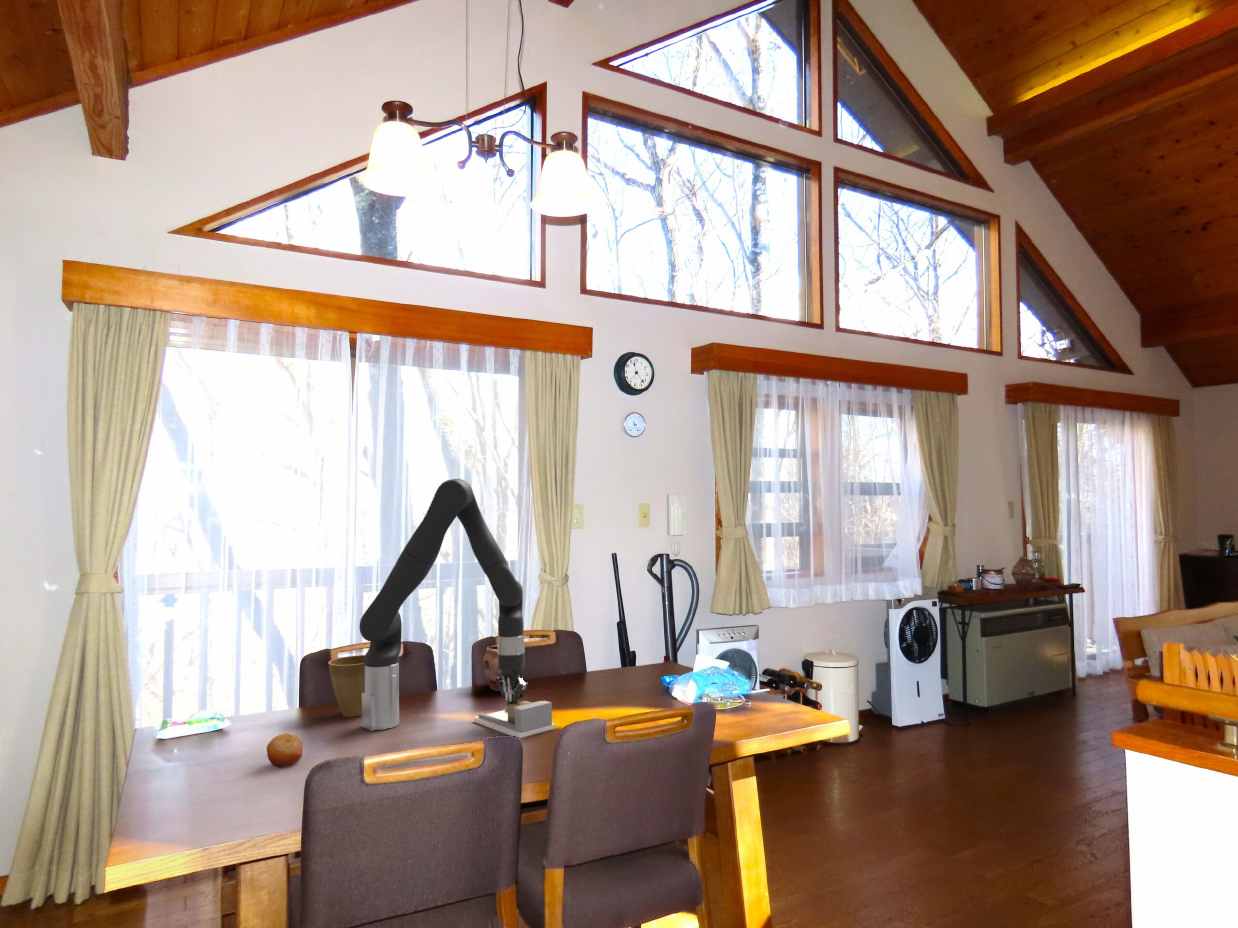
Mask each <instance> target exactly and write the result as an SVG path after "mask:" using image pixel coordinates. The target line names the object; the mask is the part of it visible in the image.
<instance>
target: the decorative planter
mask: <svg viewBox="0 0 1238 928" xmlns="http://www.w3.org/2000/svg"><path fill="white" fill-rule="evenodd" d="M482 667H483V671H484V673H485V676H486V679H487V682H488V684H489V686H488V687H489V688H490V689H491V690H492V691H496V692H497V691H499V692H500V689H499V687H498V684H497V682H496V678H498V677H500V676H501V670H500V669H498V644H497V645H491V646H487V648H486V651H485V654H484V656H483V658H482Z"/></svg>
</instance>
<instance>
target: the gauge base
mask: <svg viewBox="0 0 1238 928" xmlns="http://www.w3.org/2000/svg"><path fill="white" fill-rule="evenodd" d="M540 701H541V702H538V701H536V702H537V703H534V702H532V703H533V704H529V705H525V706H520V707H516V708H515V725H514V724H512V723H509V722H508V711H507V706H505V708H504V709H503V710H500V711H496V712H491V713H487V714H485V713H483V712H481V713H478V716H475V717H473V722H474V723H476V724H479V725H482V726H484V727H487V728H490V729H492V730H495V731H497V732H500V733H503V734H505V735H509V736H510V737H513V736H516V737H519V738H518V739H523V738H527V737H529V736H533V735H537V734H540V733H543V732H544V733H545V732H548V731H552V730H555V729H556V724H555V723H553V713H552V711H553V709H552V703H553V702H551V701H547V700H540ZM516 737H515V738H516Z"/></svg>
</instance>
